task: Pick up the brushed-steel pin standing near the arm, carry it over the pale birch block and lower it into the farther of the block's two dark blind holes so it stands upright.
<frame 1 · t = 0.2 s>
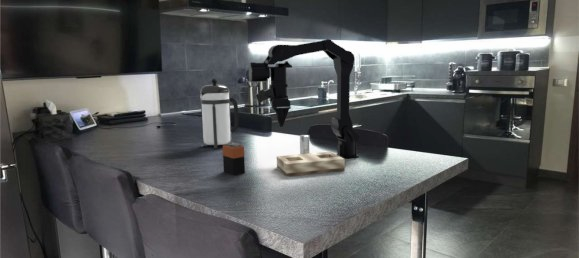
hand: (280, 124, 143), 14 cm above the table, fingers open, 9 cm apart
pin: (304, 159, 148), on the table
battery: (234, 173, 132), on the table
coffee press: (219, 145, 179), on the table
bore block: (310, 169, 134), on the table
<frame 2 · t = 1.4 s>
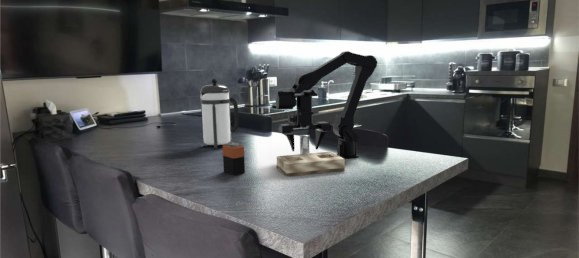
hand: (305, 150, 148), 4 cm above the table, fingers open, 9 cm apart
nothing on the table moved.
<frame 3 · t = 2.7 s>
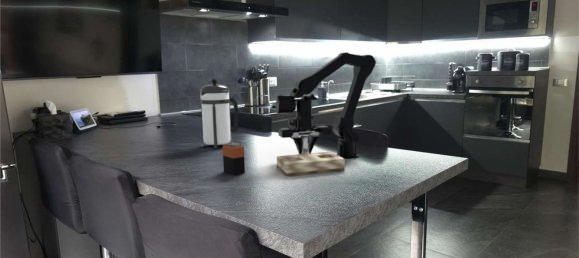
hand: (304, 154, 148), 2 cm above the table, fingers closed on pin, 3 cm apart
pin: (304, 159, 148), on the table, touching gripper
everything else where it was.
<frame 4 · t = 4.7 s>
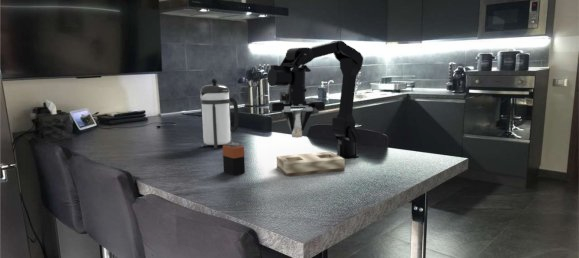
hand: (296, 130, 137), 12 cm above the table, fingers closed on pin, 3 cm apart
pin: (296, 136, 137), point 10 cm above the table, touching gripper
everything else where it was.
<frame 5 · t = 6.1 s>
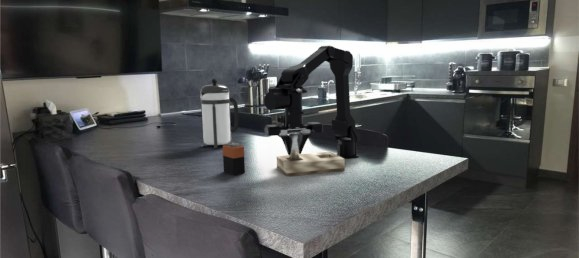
hand: (294, 154, 132), 6 cm above the table, fingers closed on pin, 3 cm apart
pin: (294, 160, 132), point 4 cm above the table, touching gripper
everything else where it was.
when the fingers open (4 cm above the table, at t = 6.9 s): pin drops 1 cm, resting on bore block.
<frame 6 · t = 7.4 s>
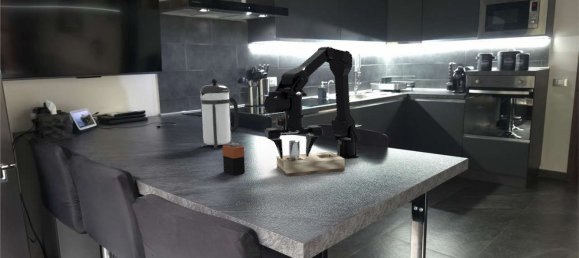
hand: (294, 157, 132), 4 cm above the table, fingers open, 9 cm apart
pin: (294, 167, 133), point 1 cm above the table, touching bore block
everything else where it was.
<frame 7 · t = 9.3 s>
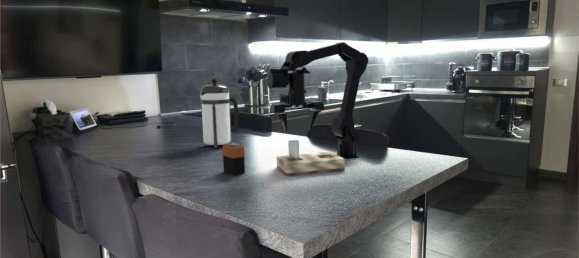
hand: (298, 130, 142), 12 cm above the table, fingers open, 9 cm apart
nothing on the table moved.
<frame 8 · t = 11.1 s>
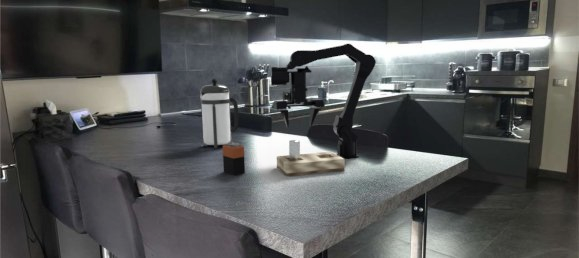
hand: (299, 126, 149), 12 cm above the table, fingers open, 9 cm apart
nothing on the table moved.
at the end: pin 0.1 cm from the target spot on the bore block, point 1.1 cm above the bore block's base; pin tilted 2°; the gripper is holding nothing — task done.
